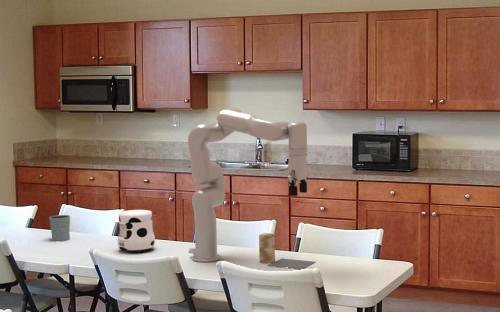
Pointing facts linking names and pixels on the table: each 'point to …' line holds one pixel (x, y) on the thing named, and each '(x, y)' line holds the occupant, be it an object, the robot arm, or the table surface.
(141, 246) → the milk container
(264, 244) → the maple block
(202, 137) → the robot arm
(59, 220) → the grey cup
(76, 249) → the table surface
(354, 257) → the table surface
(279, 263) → the charcoal mat
